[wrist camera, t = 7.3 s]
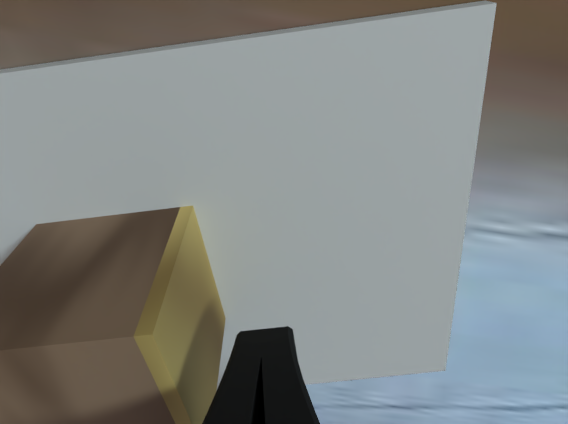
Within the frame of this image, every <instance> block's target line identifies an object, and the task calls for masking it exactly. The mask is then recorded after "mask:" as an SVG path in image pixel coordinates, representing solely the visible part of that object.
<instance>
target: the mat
mask: <svg viewBox="0 0 568 424" xmlns="http://www.w3.org/2000/svg"><path fill="white" fill-rule="evenodd" d="M495 10H496V3H494V2H489V1H479V2H472V3H465V4H458V5H451V6H444V7H437V8H430V9H423V10H416V11H409V12H402V13H395V14H388V15H381V16H374V17H367V18H360V19H353V20H346V21H339V22H332V23H324V24H317V25H310V26H303V27H296V28H289V29H282V30H275V31H268V32H261V33H254V34H247V35H240V36H233V37H226V38H219V39H212V40H205V41H198V42H191V43H184V44H177V45H170V46H163V47H156V48H149V49H142V50H135V51H128V52H121V53H114V54H107V55H100V56H93V57H86V58H79V59H72V60H65V61H58V62H51V63H44V64H37V65H30V66H23V67H16V68H9V69H2V70H0V265H1V264H2V263H3V262H4V261H5V260H6V258H7V257H8V256H9V255H10V254H11V253H12V252H13V250H14V249H15V248H16V247H17V246H18V245H19V244H20V242H21V241H22V240H23V239H24V238H25V237H26V235H27V234H28V233H29V232H30V231H31V230H32V229H33V227H34V226H35V225H36V224H42V223H51V222H59V221H67V220H76V219H84V218H93V217H101V216H109V215H118V214H126V213H134V212H143V211H151V210H159V209H168V208H176V207H185V206H193V207H194V210H195V214H196V217H197V221H198V224H199V228H200V231H201V235H202V238H203V241H204V245H205V248H206V252H207V255H208V259H209V262H210V266H211V269H212V273H213V276H214V280H215V283H216V287H217V290H218V293H219V297H220V300H221V304H222V307H223V311H224V314H225V318H226V320H225V328H224V336H223V343H222V351H221V359H220V367H219V375H218V382H217V389H218V386H219V384H220V382H221V379H222V376H223V374H224V371H225V369H226V366H227V363H228V361H229V358H230V355H231V352H232V349H233V346H234V343H235V339H236V336H237V334H238V333H239V332H240V331H248V330H257V329H267V328H276V327H286V326H288V327H290V328H292V329H293V334H294V340H295V346H296V352H297V358H298V363H299V366H300V370H301V373H302V377H303V380H304V383H305V385H307V384H317V383H327V382H337V381H347V380H357V379H367V378H377V377H387V376H397V375H407V374H417V373H427V372H437V371H445V369H446V362H447V355H448V348H449V341H450V334H451V326H452V319H453V312H454V305H455V298H456V290H457V283H458V276H459V269H460V262H461V254H462V247H463V240H464V233H465V226H466V219H467V211H468V204H469V197H470V190H471V183H472V175H473V168H474V161H475V154H476V147H477V139H478V132H479V125H480V118H481V111H482V103H483V96H484V89H485V82H486V75H487V68H488V60H489V53H490V46H491V39H492V32H493V24H494V17H495ZM216 391H217V390H216Z"/></svg>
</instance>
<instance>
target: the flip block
mask: <svg viewBox="0 0 568 424" xmlns="http://www.w3.org/2000/svg"><path fill="white" fill-rule="evenodd" d="M225 320H226V318H225V314H224V311H223V307H222V304H221V300H220V297H219V293H218V290H217V287H216V283H215V280H214V276H213V273H212V269H211V266H210V262H209V259H208V255H207V252H206V248H205V245H204V241H203V238H202V235H201V231H200V228H199V224H198V221H197V217H196V214H195V210H194V207H193V206H185V207H176V208H168V209H159V210H151V211H143V212H134V213H126V214H118V215H109V216H101V217H93V218H84V219H76V220H67V221H59V222H51V223H42V224H36V225H35V226H34V227H33V229H32V230H31V231H30V232H29V233H28V234H27V235H26V237H25V238H24V239H23V240H22V241H21V242H20V244H19V245H18V246H17V247H16V248H15V249H14V250H13V252H12V253H11V254H10V255H9V256H8V257H7V258H6V260H5V261H4V262H3V263H2V264H1V265H0V424H202V423H203V421H204V419H205V416H206V414H207V412H208V410H209V407H210V405H211V403H212V400H213V398H214V396H215V393H216V390H217V382H218V375H219V367H220V359H221V351H222V343H223V336H224V328H225Z"/></svg>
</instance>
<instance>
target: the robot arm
mask: <svg viewBox="0 0 568 424" xmlns="http://www.w3.org/2000/svg"><path fill="white" fill-rule="evenodd" d="M202 424H320V423H319V420H318V418H317V415H316V413H315V410H314V407H313V405H312V402H311V399H310V397H309V394H308V391H307V389H306V386H305V383H304V380H303V377H302V373H301V370H300V366H299V363H298V358H297V352H296V346H295V340H294V334H293V329H292V328H290V327H288V326H286V327H276V328H267V329H257V330H248V331H240V332H239V333H238V334H237V336H236V339H235V343H234V346H233V349H232V352H231V355H230V358H229V361H228V363H227V366H226V369H225V371H224V374H223V376H222V379H221V382H220V384H219V386H218V389H217V391H216V393H215V396H214V398H213V400H212V403H211V405H210V407H209V410H208V412H207V414H206V416H205V419H204V421H203V423H202Z"/></svg>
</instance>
